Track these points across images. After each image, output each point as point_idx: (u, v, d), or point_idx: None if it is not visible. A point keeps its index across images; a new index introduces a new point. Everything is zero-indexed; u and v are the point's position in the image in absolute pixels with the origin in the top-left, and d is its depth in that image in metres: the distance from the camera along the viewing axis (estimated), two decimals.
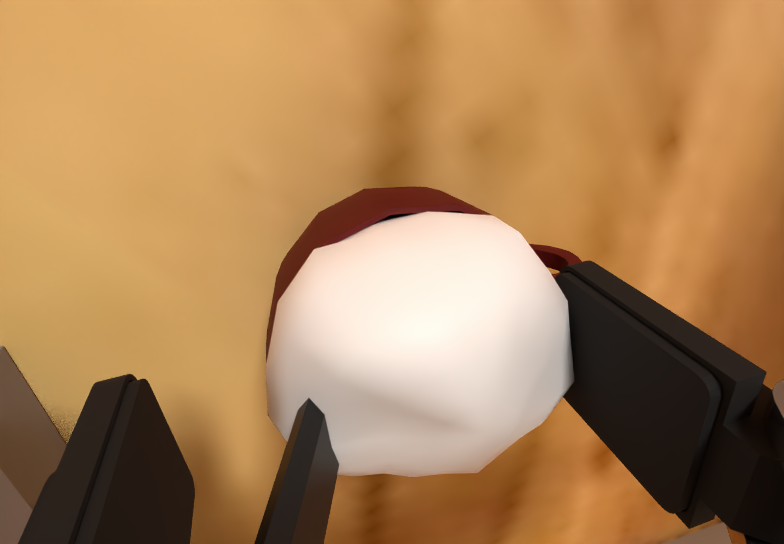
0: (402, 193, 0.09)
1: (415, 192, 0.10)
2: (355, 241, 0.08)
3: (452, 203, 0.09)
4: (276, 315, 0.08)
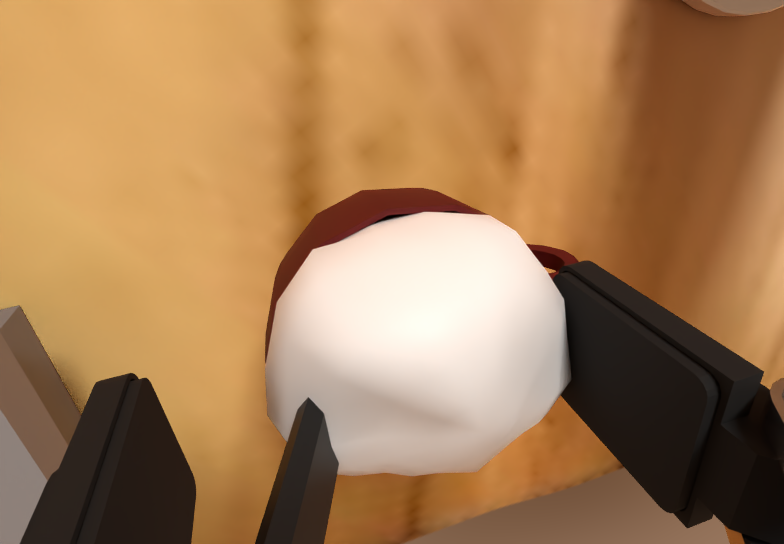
0: (399, 194, 0.10)
1: (412, 193, 0.10)
2: (353, 241, 0.08)
3: (449, 203, 0.09)
4: (275, 315, 0.08)
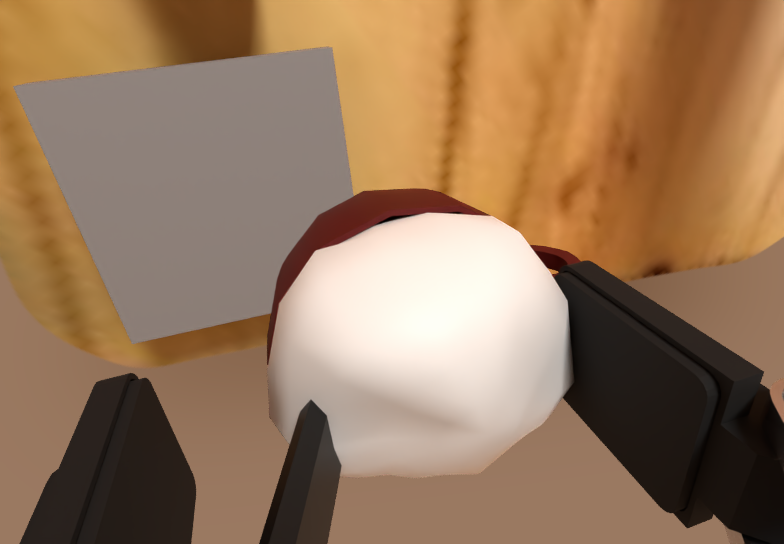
0: (402, 195, 0.09)
1: (415, 194, 0.10)
2: (356, 242, 0.08)
3: (451, 205, 0.09)
4: (277, 317, 0.08)
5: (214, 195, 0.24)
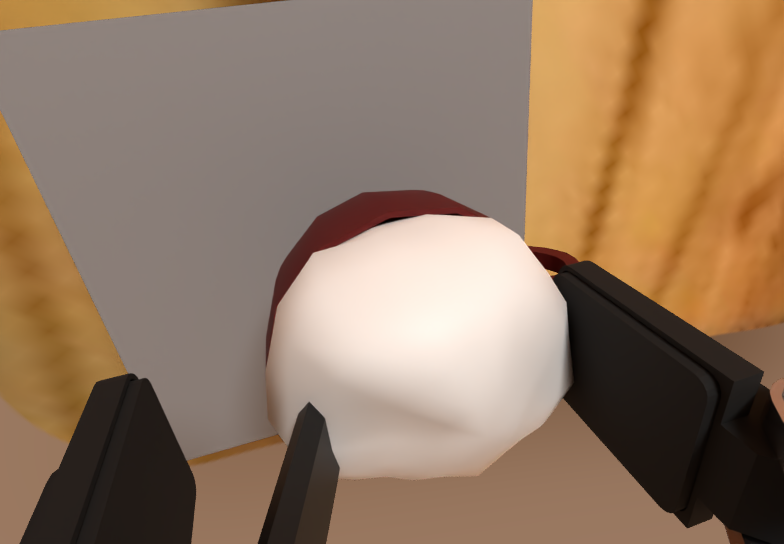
0: (400, 196, 0.09)
1: (413, 195, 0.10)
2: (354, 244, 0.08)
3: (450, 206, 0.09)
4: (276, 319, 0.08)
5: None
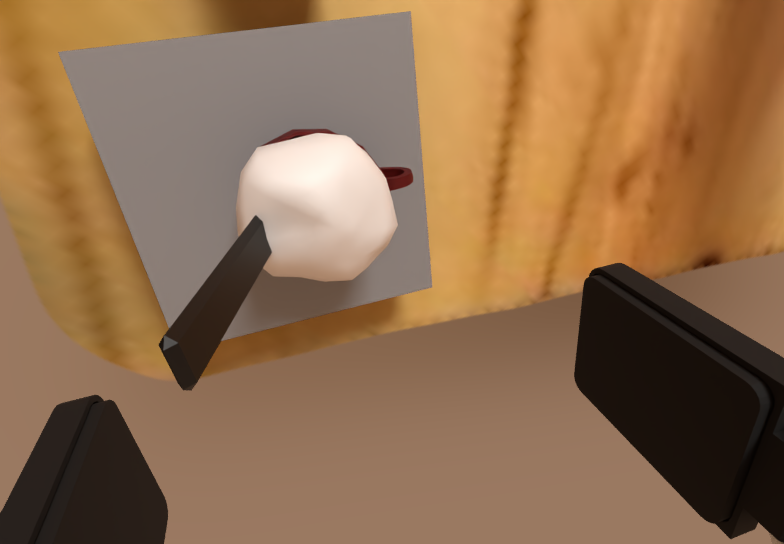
0: (305, 129, 0.19)
1: (312, 129, 0.19)
2: (276, 143, 0.17)
3: (327, 131, 0.18)
4: (240, 179, 0.17)
5: None
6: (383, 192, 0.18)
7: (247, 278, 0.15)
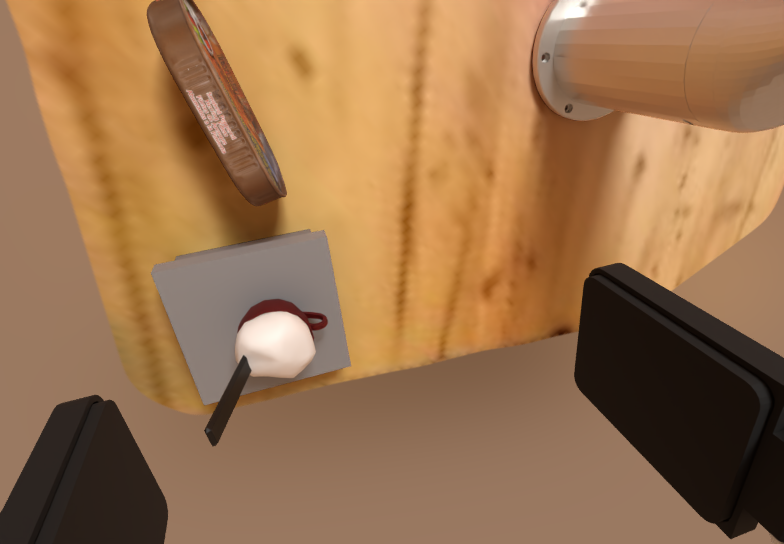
0: (269, 305, 0.37)
1: (273, 304, 0.38)
2: (253, 320, 0.36)
3: (279, 309, 0.37)
4: (236, 337, 0.36)
5: None
6: (306, 339, 0.37)
7: (238, 390, 0.34)
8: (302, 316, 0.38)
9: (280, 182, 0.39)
